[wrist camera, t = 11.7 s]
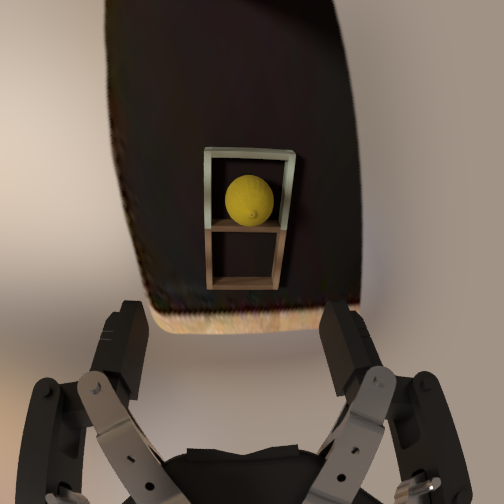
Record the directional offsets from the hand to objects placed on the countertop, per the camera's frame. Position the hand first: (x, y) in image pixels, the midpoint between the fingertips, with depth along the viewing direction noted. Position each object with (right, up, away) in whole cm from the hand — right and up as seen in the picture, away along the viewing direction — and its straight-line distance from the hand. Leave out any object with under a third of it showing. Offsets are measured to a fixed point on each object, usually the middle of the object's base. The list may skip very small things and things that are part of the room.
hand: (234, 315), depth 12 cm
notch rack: (0, +7, +27) cm, 28 cm away
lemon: (0, +11, +24) cm, 26 cm away
